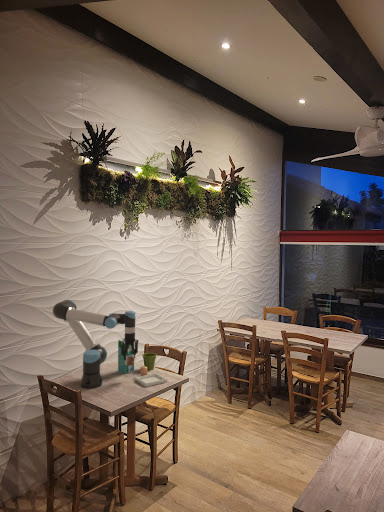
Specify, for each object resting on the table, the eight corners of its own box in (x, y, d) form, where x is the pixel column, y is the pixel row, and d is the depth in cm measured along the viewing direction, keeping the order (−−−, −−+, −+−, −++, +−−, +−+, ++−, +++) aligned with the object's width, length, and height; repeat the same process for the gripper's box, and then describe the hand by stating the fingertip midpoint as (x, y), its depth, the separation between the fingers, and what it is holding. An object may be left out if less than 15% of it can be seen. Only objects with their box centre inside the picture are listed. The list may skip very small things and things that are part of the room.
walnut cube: (128, 365, 295) (128, 359, 295) (124, 364, 299) (124, 357, 299) (134, 364, 298) (134, 357, 298) (130, 363, 302) (130, 356, 302)
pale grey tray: (146, 387, 284) (146, 383, 284) (135, 380, 297) (135, 377, 297) (166, 382, 295) (166, 378, 295) (155, 376, 307) (155, 373, 307)
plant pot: (159, 367, 328) (159, 353, 328) (151, 371, 317) (152, 357, 317) (146, 365, 333) (146, 351, 333) (139, 369, 322) (139, 355, 322)
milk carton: (127, 373, 313) (127, 341, 312) (117, 371, 316) (118, 339, 315) (134, 370, 321) (134, 338, 320) (124, 368, 325) (124, 337, 324)
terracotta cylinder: (142, 378, 303) (142, 368, 302) (139, 376, 307) (139, 367, 306) (148, 376, 306) (148, 367, 306) (145, 375, 310) (145, 365, 310)
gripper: (121, 334, 289) (120, 367, 290) (143, 332, 300) (142, 363, 301) (116, 332, 295) (115, 364, 296) (138, 330, 306) (137, 360, 307)
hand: (129, 363), depth 299 cm, fingers closed on walnut cube, 5 cm apart
